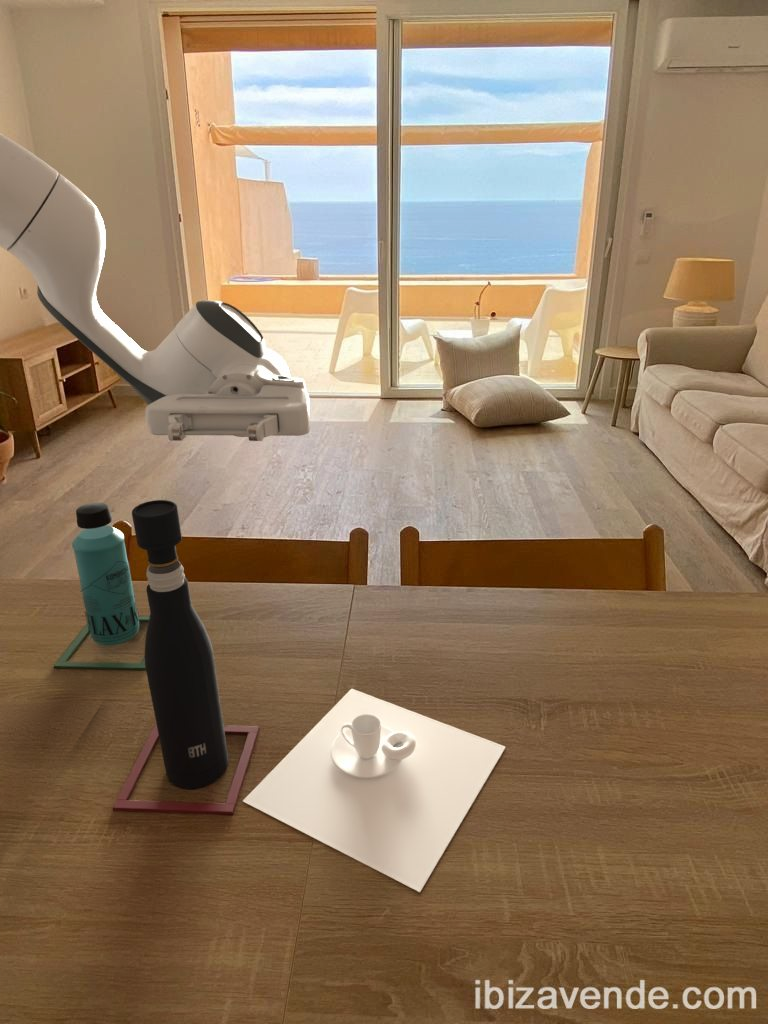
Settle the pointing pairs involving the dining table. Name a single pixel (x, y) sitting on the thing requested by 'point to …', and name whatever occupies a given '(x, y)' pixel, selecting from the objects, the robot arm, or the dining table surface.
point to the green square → (95, 665)
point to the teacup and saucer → (379, 785)
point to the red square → (186, 807)
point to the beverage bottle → (104, 577)
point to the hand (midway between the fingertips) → (214, 434)
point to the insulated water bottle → (179, 658)
